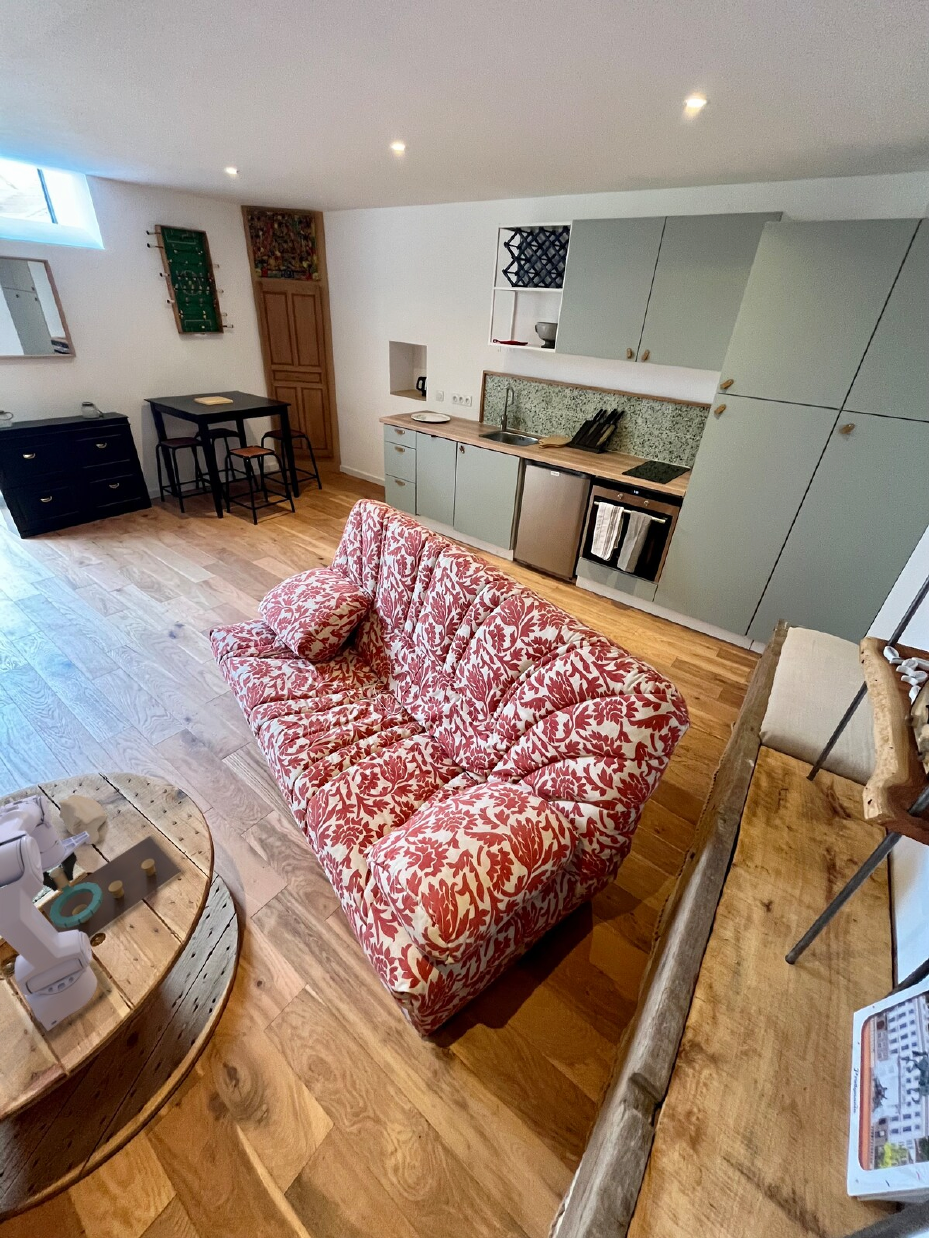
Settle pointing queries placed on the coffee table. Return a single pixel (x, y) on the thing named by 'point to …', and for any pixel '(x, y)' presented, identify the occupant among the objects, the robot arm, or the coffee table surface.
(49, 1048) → the coffee table surface
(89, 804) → the decorative stone
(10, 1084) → the coffee table surface
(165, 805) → the coffee table surface
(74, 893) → the ring
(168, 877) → the rack
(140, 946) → the coffee table surface
